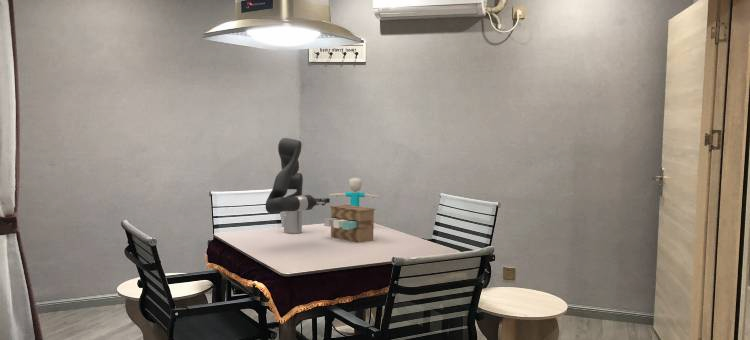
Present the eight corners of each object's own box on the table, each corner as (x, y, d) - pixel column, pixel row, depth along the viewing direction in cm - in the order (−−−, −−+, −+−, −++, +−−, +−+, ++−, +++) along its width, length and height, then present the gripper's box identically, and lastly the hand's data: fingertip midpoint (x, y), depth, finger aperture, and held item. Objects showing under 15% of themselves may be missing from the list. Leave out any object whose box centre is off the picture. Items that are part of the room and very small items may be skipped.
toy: (380, 227, 390) (381, 177, 387) (379, 230, 380) (380, 178, 378) (330, 225, 393) (330, 176, 390) (327, 228, 383) (328, 177, 381)
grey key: (324, 225, 349) (324, 218, 349) (336, 224, 355) (336, 217, 355) (329, 226, 346) (329, 219, 346) (341, 224, 353) (341, 217, 352)
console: (329, 237, 356) (330, 206, 354) (344, 234, 363) (344, 204, 362) (359, 243, 340) (360, 210, 339) (374, 240, 348) (374, 208, 346)
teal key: (342, 229, 339) (342, 221, 339) (354, 227, 346) (354, 220, 345) (347, 230, 337) (347, 222, 336) (359, 228, 343) (360, 220, 343)
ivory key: (333, 227, 344) (333, 220, 344) (345, 225, 350) (345, 218, 350) (338, 228, 341) (338, 221, 341) (350, 226, 348) (350, 219, 347)
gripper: (311, 196, 320) (337, 194, 333) (294, 194, 330) (320, 191, 342) (311, 212, 321) (337, 209, 334) (293, 209, 330) (320, 206, 343)
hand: (328, 200), depth 338 cm, fingers closed
